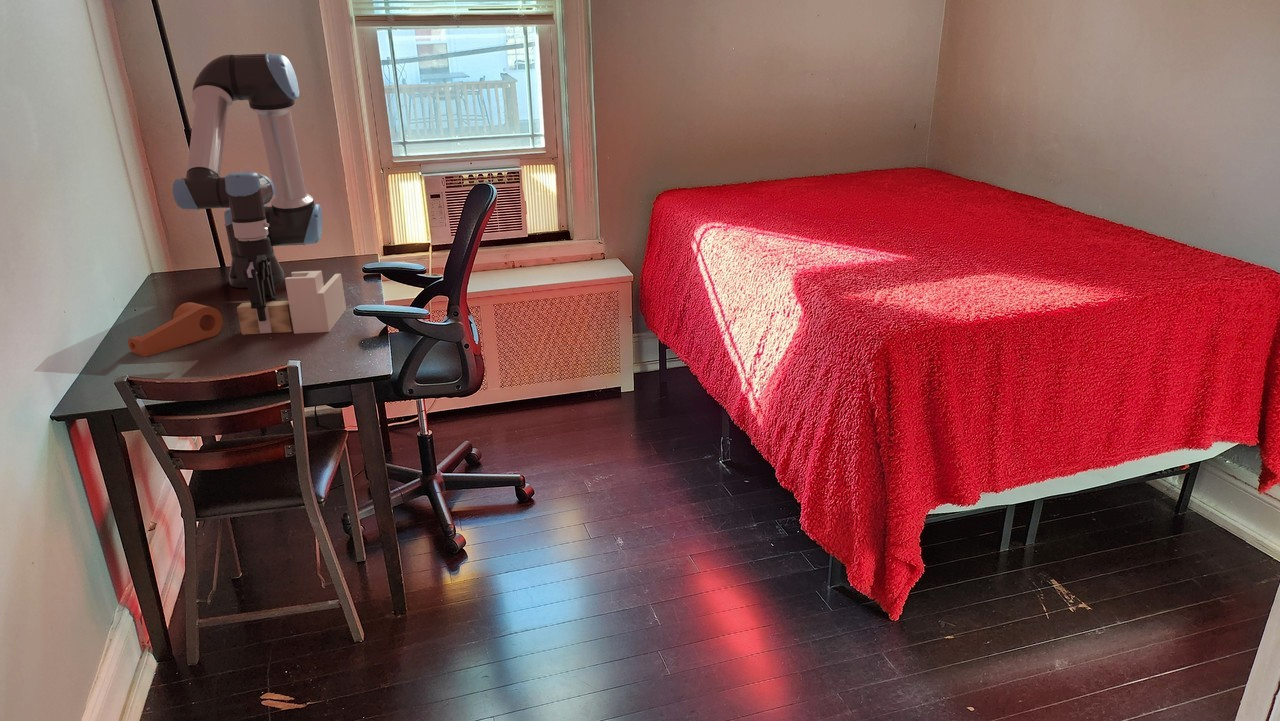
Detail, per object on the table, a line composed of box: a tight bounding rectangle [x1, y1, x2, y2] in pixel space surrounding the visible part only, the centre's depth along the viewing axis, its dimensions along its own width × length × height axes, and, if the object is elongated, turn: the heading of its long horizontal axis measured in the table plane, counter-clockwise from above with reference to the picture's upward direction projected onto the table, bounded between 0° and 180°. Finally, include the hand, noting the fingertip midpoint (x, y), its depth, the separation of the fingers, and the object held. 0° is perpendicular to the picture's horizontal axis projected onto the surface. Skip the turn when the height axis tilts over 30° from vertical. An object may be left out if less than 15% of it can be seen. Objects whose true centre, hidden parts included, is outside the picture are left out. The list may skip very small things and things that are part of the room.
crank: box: [127, 302, 224, 358], centre depth 202 cm, size 20×8×8 cm, turn 148°
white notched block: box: [284, 270, 347, 335], centre depth 215 cm, size 8×20×14 cm, turn 6°
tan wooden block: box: [236, 300, 294, 336], centre depth 209 cm, size 15×4×7 cm, turn 96°
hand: (269, 329), depth 210 cm, fingers closed on tan wooden block, 4 cm apart
